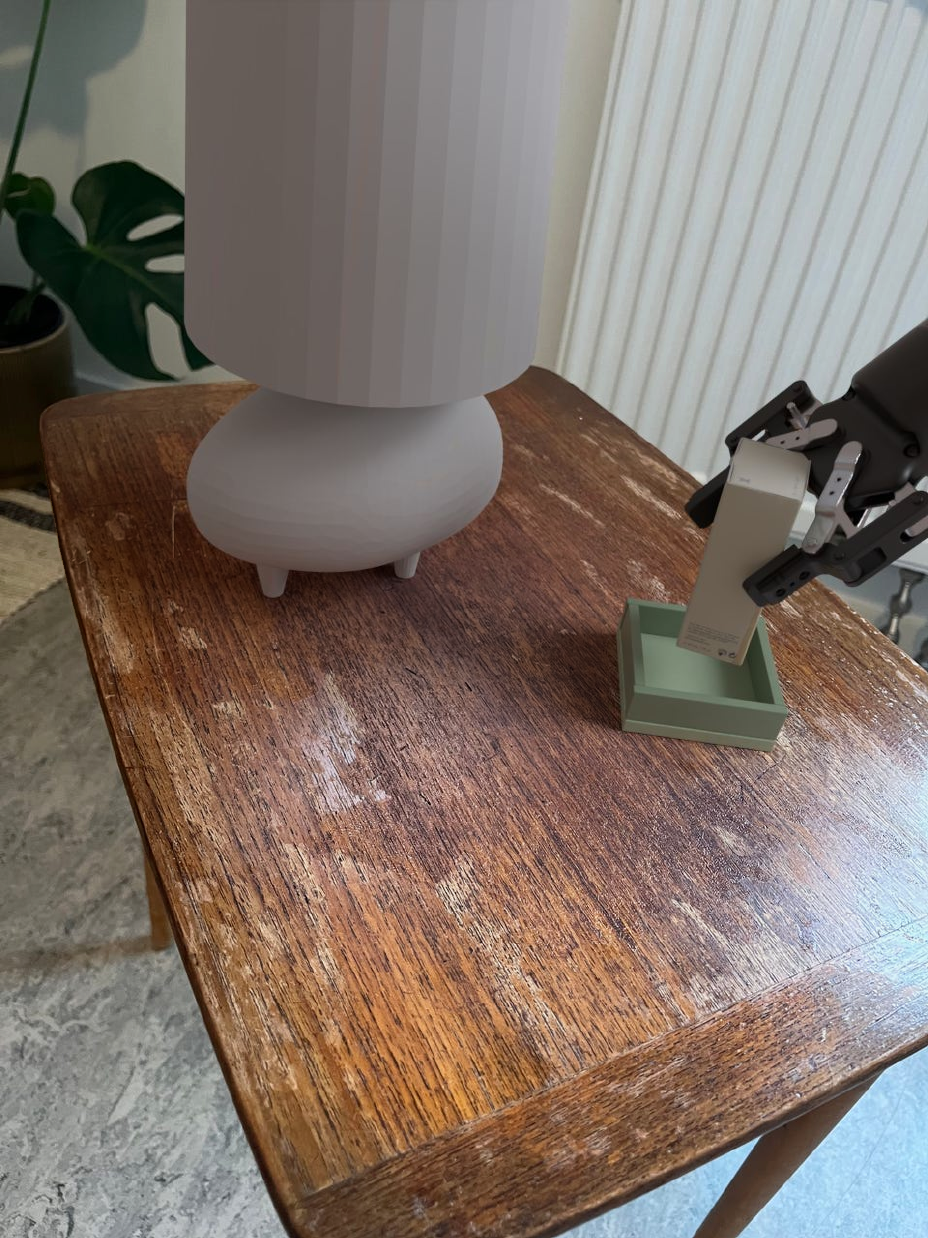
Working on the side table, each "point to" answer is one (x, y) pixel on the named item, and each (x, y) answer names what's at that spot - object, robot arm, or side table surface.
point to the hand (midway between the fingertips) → (720, 556)
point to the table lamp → (362, 264)
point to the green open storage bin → (694, 683)
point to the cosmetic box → (743, 547)
